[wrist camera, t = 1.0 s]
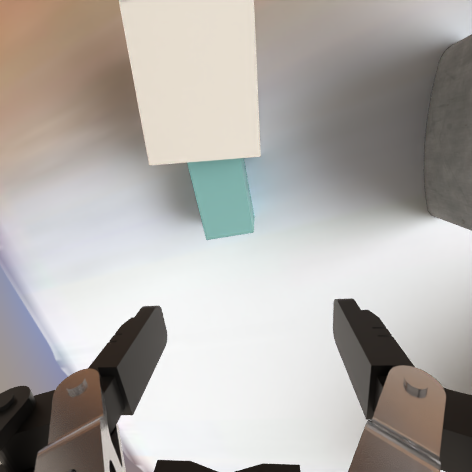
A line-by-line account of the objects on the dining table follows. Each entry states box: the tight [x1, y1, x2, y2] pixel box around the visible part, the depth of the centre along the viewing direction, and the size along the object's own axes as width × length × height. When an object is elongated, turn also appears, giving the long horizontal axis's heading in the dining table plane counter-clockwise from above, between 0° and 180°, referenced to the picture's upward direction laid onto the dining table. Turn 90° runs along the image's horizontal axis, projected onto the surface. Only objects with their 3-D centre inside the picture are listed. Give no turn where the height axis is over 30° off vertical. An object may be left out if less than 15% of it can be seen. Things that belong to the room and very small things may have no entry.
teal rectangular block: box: [187, 158, 254, 240], centre depth 24 cm, size 14×4×6 cm, turn 11°
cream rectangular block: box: [119, 0, 261, 165], centre depth 20 cm, size 10×8×10 cm
